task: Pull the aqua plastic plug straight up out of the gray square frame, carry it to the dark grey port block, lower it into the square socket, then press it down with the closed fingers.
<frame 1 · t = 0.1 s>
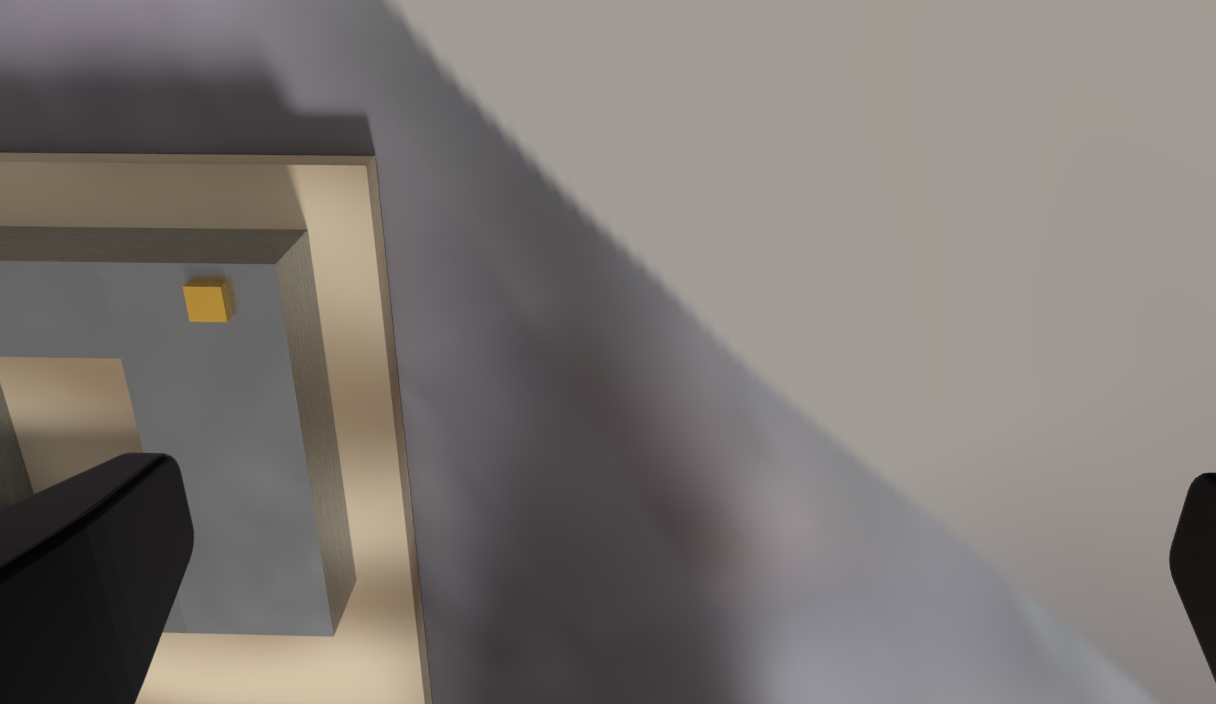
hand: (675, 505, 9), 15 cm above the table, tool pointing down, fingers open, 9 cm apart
port block: (113, 401, 26), resting on patch board
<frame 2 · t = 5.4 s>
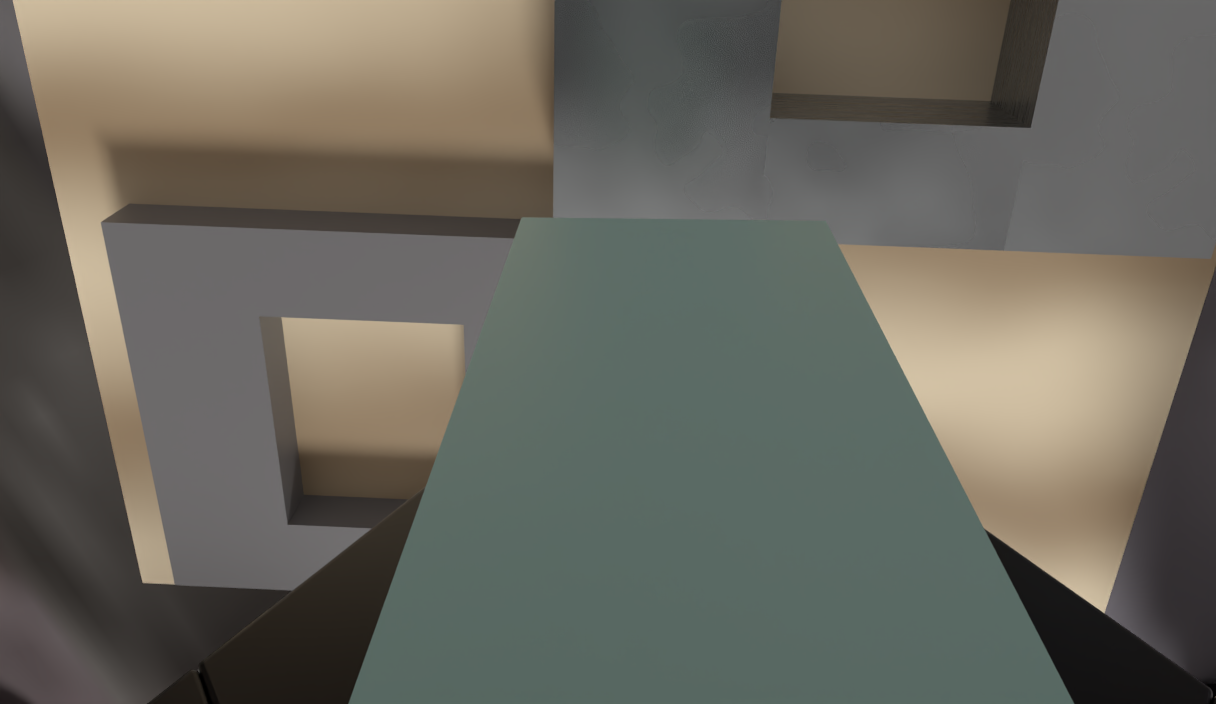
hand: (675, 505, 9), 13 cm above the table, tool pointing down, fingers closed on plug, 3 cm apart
gray square frame: (391, 386, 23), resting on patch board
plug: (667, 397, 11), point 11 cm above the table, touching gripper
patch board: (636, 165, 21), on the table
when the fingers open (4 cm above the table, at t = 7.7 s): plug stays where it is, resting on patch board.
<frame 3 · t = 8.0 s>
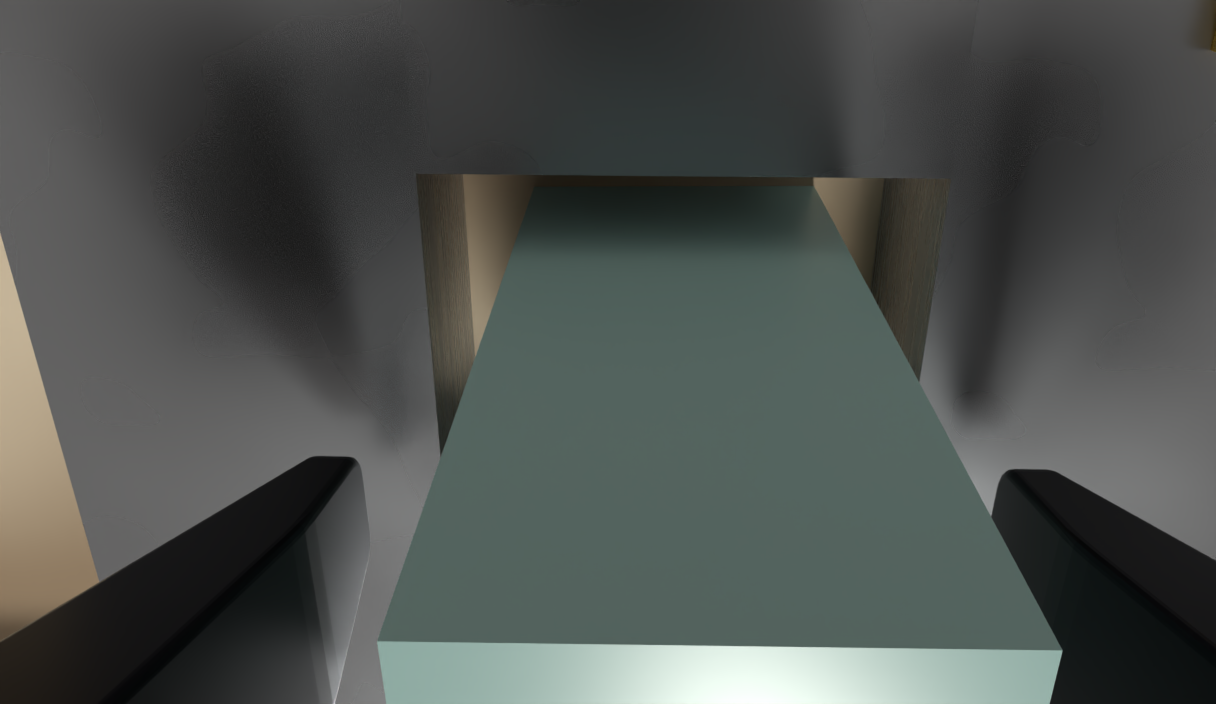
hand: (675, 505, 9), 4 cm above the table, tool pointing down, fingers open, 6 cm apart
port block: (665, 325, 12), resting on patch board
plug: (670, 353, 12), point 1 cm above the table, touching patch board
patch board: (347, 604, 14), on the table
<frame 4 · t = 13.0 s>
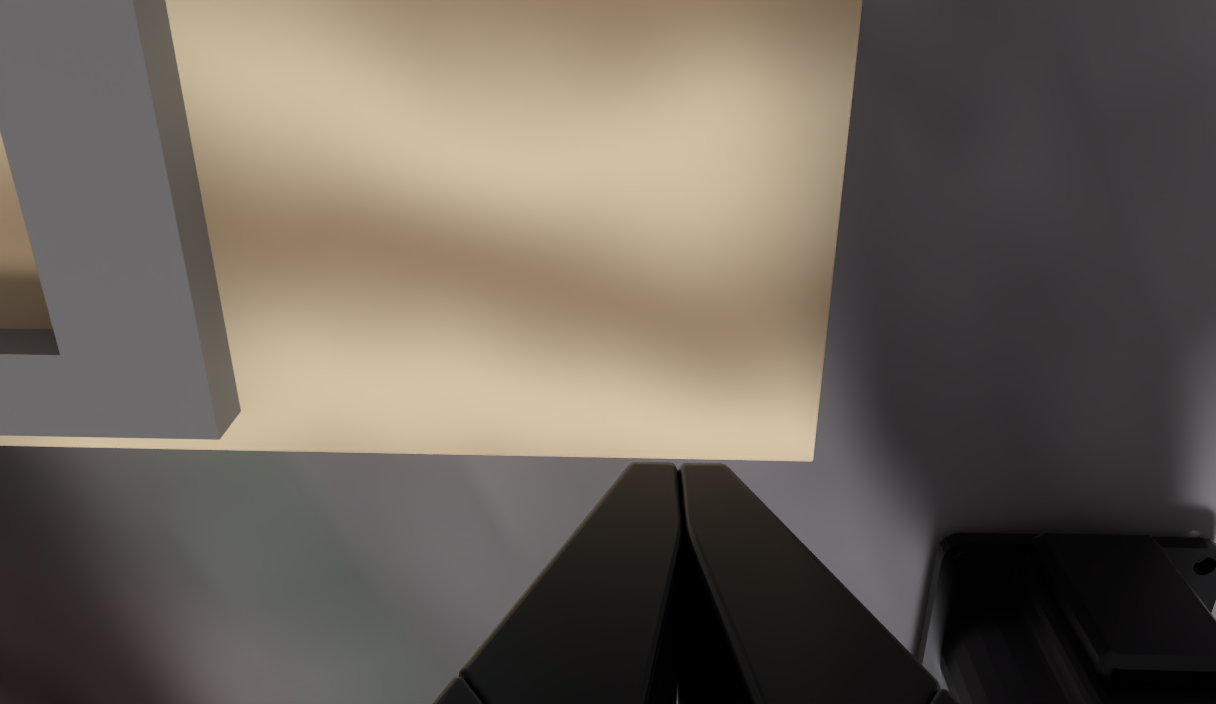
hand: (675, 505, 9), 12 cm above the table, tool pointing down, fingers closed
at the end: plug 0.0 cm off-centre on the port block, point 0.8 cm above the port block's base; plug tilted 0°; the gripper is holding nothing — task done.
